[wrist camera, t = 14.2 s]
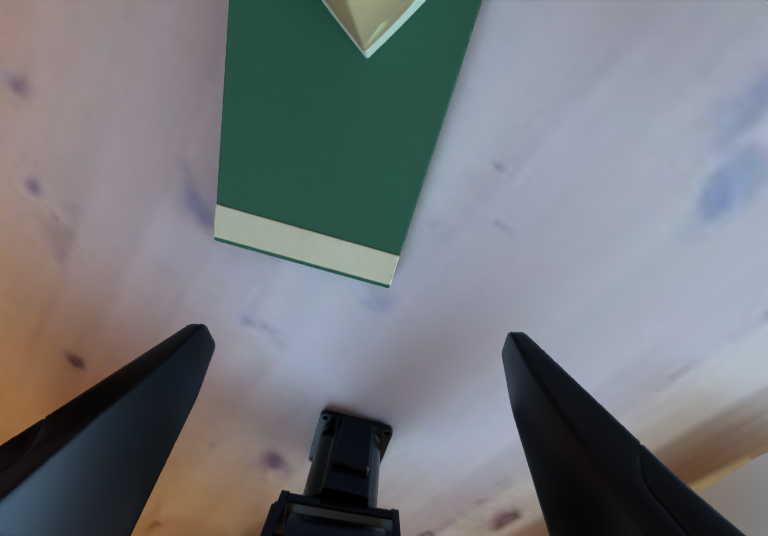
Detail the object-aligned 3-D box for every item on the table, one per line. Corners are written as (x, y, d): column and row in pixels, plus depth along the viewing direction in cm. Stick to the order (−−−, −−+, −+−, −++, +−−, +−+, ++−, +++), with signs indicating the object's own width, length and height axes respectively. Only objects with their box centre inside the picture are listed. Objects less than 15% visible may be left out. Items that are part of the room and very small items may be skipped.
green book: (389, 282, 21) (389, 289, 20) (222, 236, 21) (213, 240, 20) (510, -95, 14) (519, -114, 13) (252, -189, 13) (240, -216, 12)
